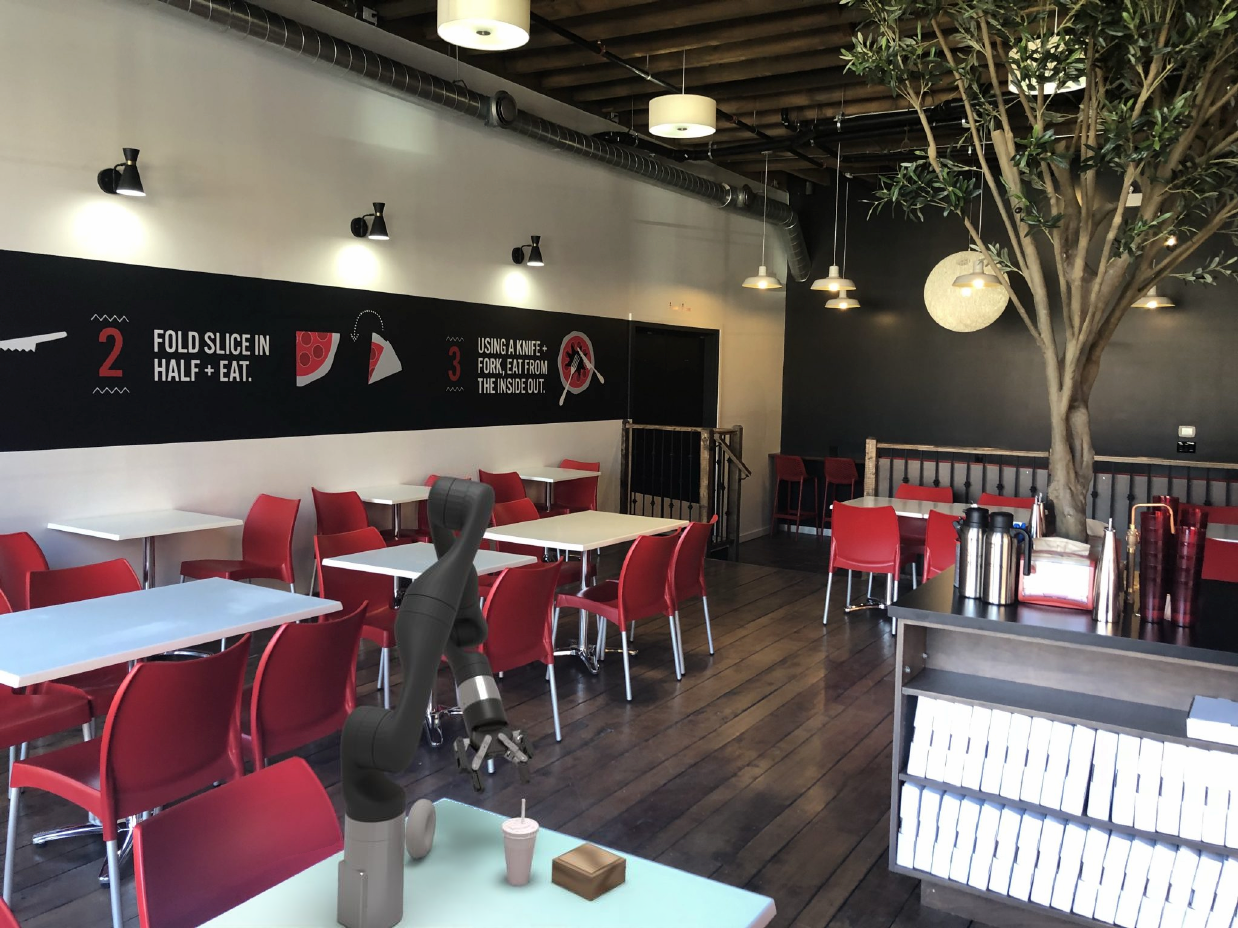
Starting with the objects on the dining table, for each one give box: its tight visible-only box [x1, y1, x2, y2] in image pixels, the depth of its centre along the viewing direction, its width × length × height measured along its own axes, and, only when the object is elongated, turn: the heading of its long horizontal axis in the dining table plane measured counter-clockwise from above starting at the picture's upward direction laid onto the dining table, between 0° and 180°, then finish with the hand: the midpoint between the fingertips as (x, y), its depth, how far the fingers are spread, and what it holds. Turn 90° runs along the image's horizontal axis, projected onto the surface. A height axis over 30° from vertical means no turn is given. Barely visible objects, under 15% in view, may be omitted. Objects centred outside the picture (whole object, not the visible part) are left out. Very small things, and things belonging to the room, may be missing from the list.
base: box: [550, 841, 627, 902], centre depth 162 cm, size 9×9×4 cm
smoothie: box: [500, 798, 540, 887], centre depth 162 cm, size 6×6×14 cm
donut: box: [405, 798, 437, 859], centre depth 169 cm, size 10×4×10 cm, turn 174°
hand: (504, 788), depth 167 cm, fingers open, 8 cm apart
